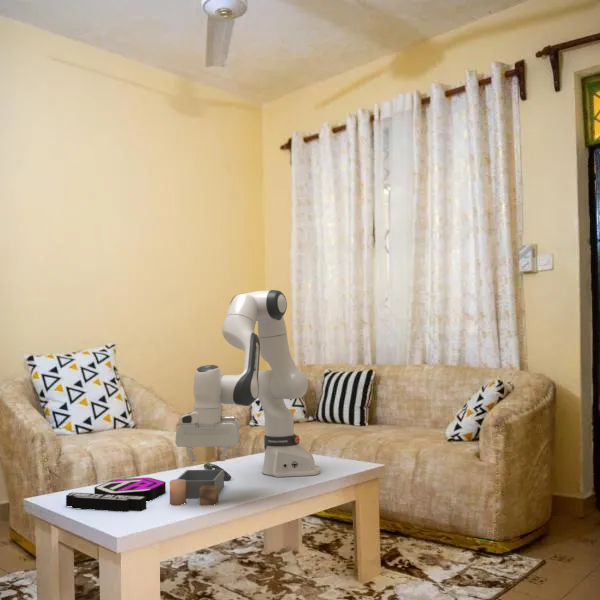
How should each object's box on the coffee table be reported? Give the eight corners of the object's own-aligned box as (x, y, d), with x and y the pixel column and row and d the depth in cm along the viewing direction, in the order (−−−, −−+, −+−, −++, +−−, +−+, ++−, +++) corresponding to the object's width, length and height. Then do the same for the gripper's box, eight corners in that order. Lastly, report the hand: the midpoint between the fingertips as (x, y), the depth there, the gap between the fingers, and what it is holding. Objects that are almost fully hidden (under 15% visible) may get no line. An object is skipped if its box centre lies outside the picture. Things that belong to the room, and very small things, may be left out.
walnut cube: (218, 501, 205) (218, 485, 205) (215, 505, 200) (215, 489, 200) (202, 501, 205) (202, 485, 205) (199, 505, 200) (199, 489, 200)
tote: (223, 485, 225) (223, 469, 225) (214, 498, 208) (214, 480, 208) (186, 486, 226) (186, 469, 226) (174, 498, 209) (174, 481, 209)
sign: (138, 514, 193) (182, 490, 222) (138, 501, 193) (182, 479, 222) (60, 509, 200) (113, 487, 229) (60, 496, 200) (113, 476, 229)
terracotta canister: (187, 501, 205) (187, 479, 206) (183, 505, 200) (183, 482, 201) (172, 501, 206) (171, 479, 206) (168, 505, 201) (167, 482, 201)
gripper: (241, 415, 206) (241, 458, 205) (178, 415, 207) (179, 459, 207) (238, 417, 200) (238, 462, 199) (173, 418, 201) (174, 462, 200)
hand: (207, 460), depth 203 cm, fingers open, 8 cm apart
